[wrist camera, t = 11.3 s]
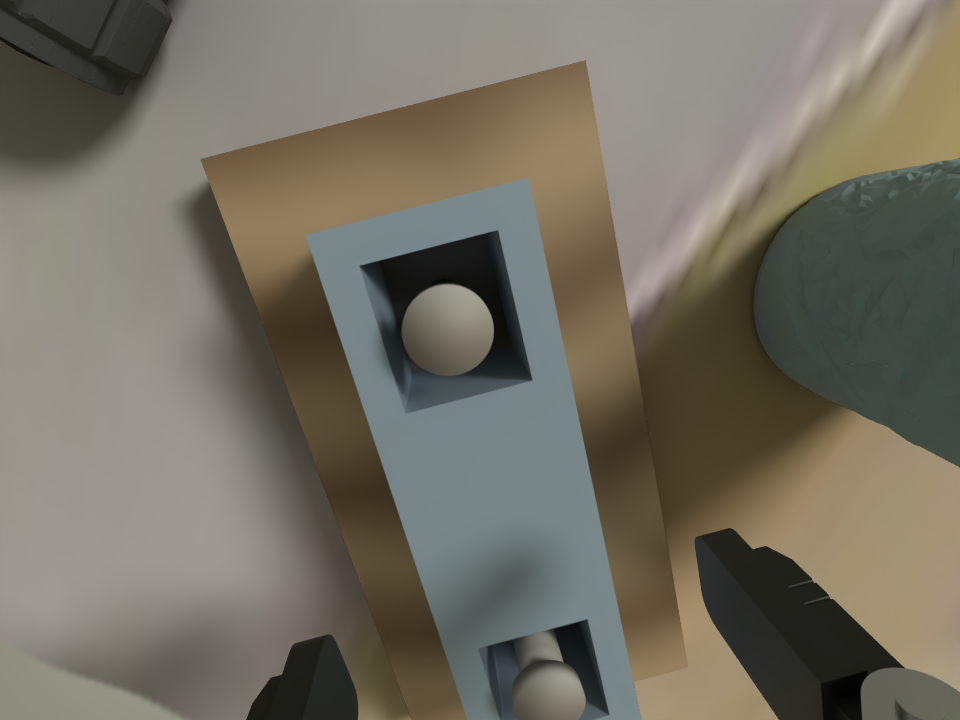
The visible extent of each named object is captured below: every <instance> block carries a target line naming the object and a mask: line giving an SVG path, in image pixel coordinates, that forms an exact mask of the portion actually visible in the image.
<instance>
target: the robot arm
mask: <svg viewBox="0 0 960 720" xmlns="http://www.w3.org/2000/svg"><path fill="white" fill-rule="evenodd" d="M695 550H696V557H697V563H698V570H699V577H700V584H701V591H702V596H703V600H704V603H705V606H706V608H707V611H708V613H709V615H710V617H711V619H712V621H713V623H714V625H715V626H716V628H717V629H718V631H719V632H720V634H721V635H722V637H723V638H724V640H725V641H726V642H727V644H728V645H729V647H730V648H731V650H732V651H733V653H734V654H735V656H736V657H737V659H738V660H739V662H740V663H741V665H742V666H743V667H744V669H745V670H746V672H747V673H748V675H749V676H750V678H751V679H752V681H753V682H754V684H755V685H756V687H757V688H758V689H759V691H760V692H761V694H762V695H763V697H764V698H765V700H766V701H767V703H768V704H769V706H770V707H771V709H772V710H773V712H774V713H775V714H776V716H777V717H778V719H779V720H960V692H958V691H957V690H956V689H954V688H953V687H951V686H950V685H948V684H947V683H945V682H943V681H941V680H939V679H937V678H935V677H933V676H930V675H928V674H925V673H922V672H919V671H915V670H911V669H906V668H904V667H903V666H902V665H901V664H900V663H899V662H898V661H897V660H896V659H895V658H894V657H892V656H891V655H890V654H889V653H888V652H887V651H886V650H885V649H884V648H883V647H882V646H881V645H880V644H879V643H878V642H877V641H876V640H875V639H874V638H873V637H872V636H871V635H870V634H869V633H868V632H867V631H866V630H865V629H864V628H862V627H861V626H860V625H859V624H858V623H857V622H856V621H855V620H854V619H853V618H852V617H851V616H850V615H849V614H848V613H847V612H846V611H845V610H844V609H843V608H842V607H841V606H840V605H839V604H838V603H837V602H836V601H835V600H834V599H830V597H829V595H828V594H827V593H826V592H825V591H824V590H823V589H822V588H821V587H820V586H819V585H818V584H817V583H814V582H813V580H812V578H811V577H810V576H809V575H808V574H807V573H806V572H805V571H804V570H802V569H801V568H800V567H799V566H798V565H797V564H796V563H795V562H794V561H793V560H792V559H790V558H788V557H786V556H784V555H782V554H780V553H779V552H777V551H775V550H773V549H771V548H769V547H767V546H764V547H760V548H756V549H752V548H751V547H750V546H749V545H748V544H747V543H746V542H745V541H744V540H743V539H742V538H741V536H740V535H739V534H738V533H737V532H736V531H735V530H733V529H731V528H727V529H724V530H720V531H716V532H713V533H709V534H705V535H701V536H698V537H696V538H695ZM246 720H358V701H357V694H356V690H355V687H354V684H353V682H352V679H351V677H350V674H349V672H348V670H347V667H346V665H345V662H344V660H343V658H342V655H341V653H340V651H339V648H338V646H337V643H336V641H335V639H334V638H333V636H332V635H330V634H328V635H324V636H321V637H317V638H313V639H309V640H306V641H302V642H298V643H295V644H294V645H293V646H292V648H291V650H290V652H289V655H288V658H287V661H286V664H285V667H284V670H283V673H282V675H279V676H276V677H272V678H270V680H269V681H268V682H267V684H266V685H265V687H264V688H263V689H262V691H261V692H260V694H259V695H258V696H257V698H256V699H255V701H254V702H253V703H252V706H251V709H250V711H249V714H248V717H247V719H246Z"/></svg>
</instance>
